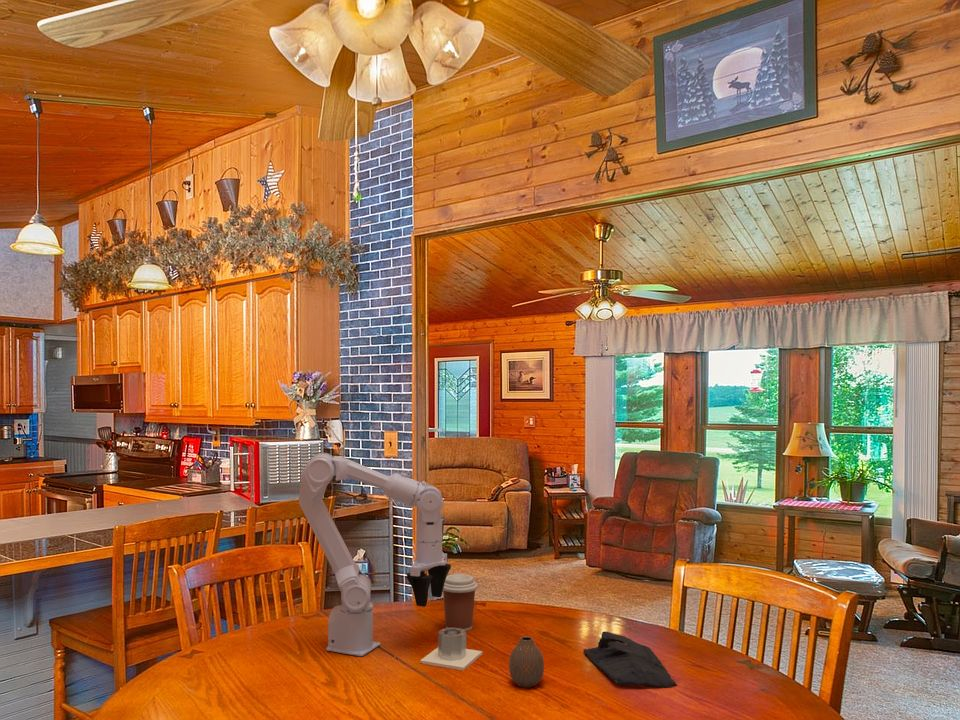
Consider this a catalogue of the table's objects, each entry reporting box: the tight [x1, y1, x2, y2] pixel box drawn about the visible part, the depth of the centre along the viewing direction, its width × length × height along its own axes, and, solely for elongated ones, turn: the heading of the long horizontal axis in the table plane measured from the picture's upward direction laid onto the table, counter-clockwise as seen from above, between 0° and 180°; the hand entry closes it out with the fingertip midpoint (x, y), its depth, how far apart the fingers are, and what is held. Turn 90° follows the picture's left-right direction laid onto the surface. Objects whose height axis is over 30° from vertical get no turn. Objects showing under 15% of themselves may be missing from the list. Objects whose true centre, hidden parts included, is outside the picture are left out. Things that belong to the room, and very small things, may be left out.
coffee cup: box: [442, 573, 479, 632], centre depth 177 cm, size 9×9×12 cm
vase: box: [508, 635, 545, 688], centre depth 143 cm, size 7×7×9 cm
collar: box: [437, 627, 467, 661], centre depth 156 cm, size 6×6×5 cm
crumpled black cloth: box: [583, 631, 678, 689], centre depth 152 cm, size 15×22×5 cm
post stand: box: [419, 631, 483, 671], centre depth 156 cm, size 10×10×6 cm
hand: (429, 601), depth 164 cm, fingers open, 7 cm apart
